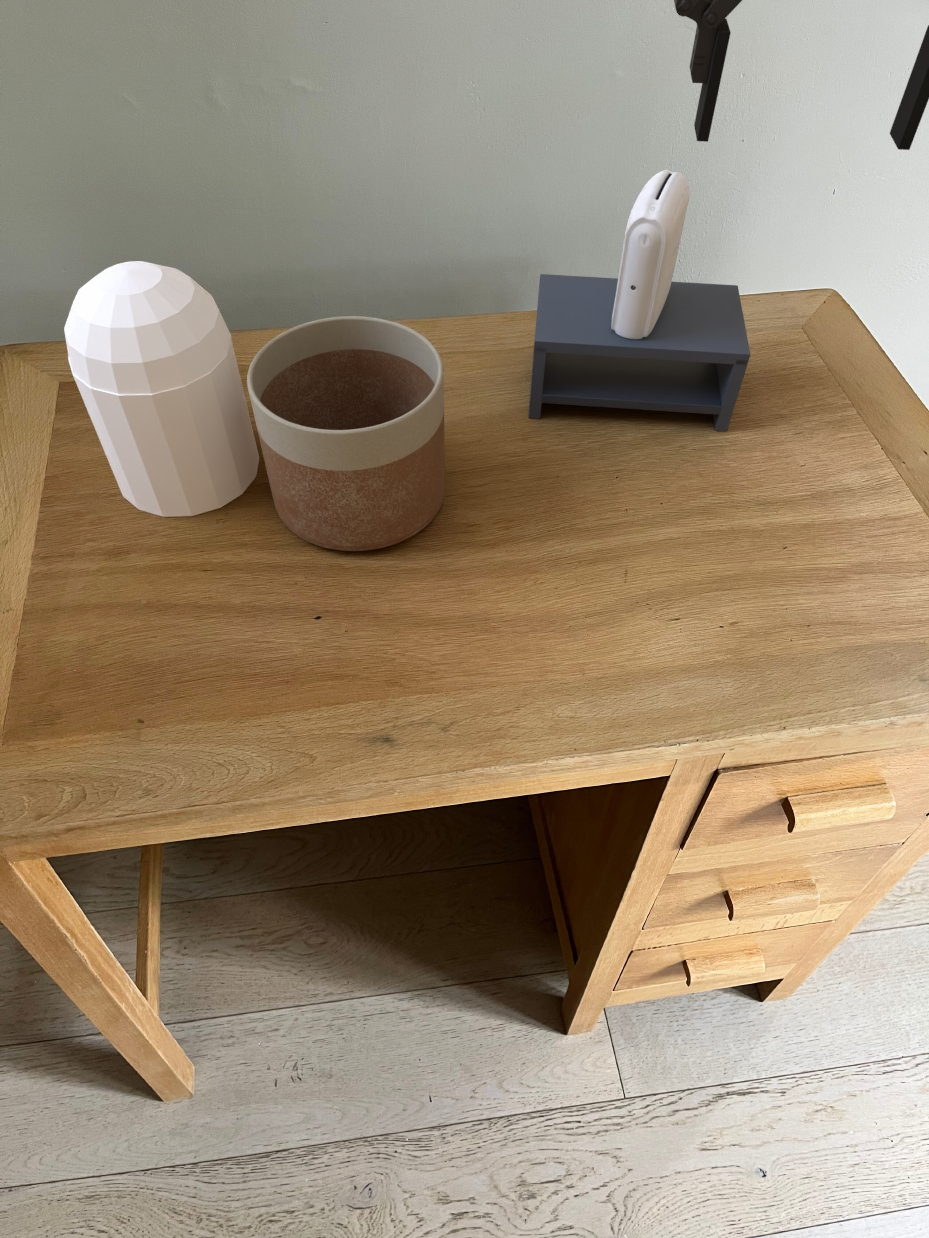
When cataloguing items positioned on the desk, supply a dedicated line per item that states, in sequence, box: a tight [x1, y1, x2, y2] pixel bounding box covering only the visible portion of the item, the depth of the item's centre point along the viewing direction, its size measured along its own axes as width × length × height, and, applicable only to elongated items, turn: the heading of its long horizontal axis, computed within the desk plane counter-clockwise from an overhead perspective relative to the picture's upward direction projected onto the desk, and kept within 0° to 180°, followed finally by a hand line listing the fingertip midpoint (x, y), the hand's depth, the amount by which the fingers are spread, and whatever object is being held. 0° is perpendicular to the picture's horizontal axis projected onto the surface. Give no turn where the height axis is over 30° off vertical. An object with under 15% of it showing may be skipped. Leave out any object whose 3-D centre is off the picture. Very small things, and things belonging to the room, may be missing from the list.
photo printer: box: [611, 169, 690, 339], centre depth 79 cm, size 10×4×12 cm, turn 159°
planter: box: [246, 315, 446, 552], centre depth 75 cm, size 16×16×14 cm
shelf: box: [528, 273, 751, 432], centre depth 87 cm, size 20×12×9 cm, turn 84°
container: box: [63, 260, 260, 518], centre depth 75 cm, size 14×13×20 cm
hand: (799, 138), depth 60 cm, fingers open, 13 cm apart
